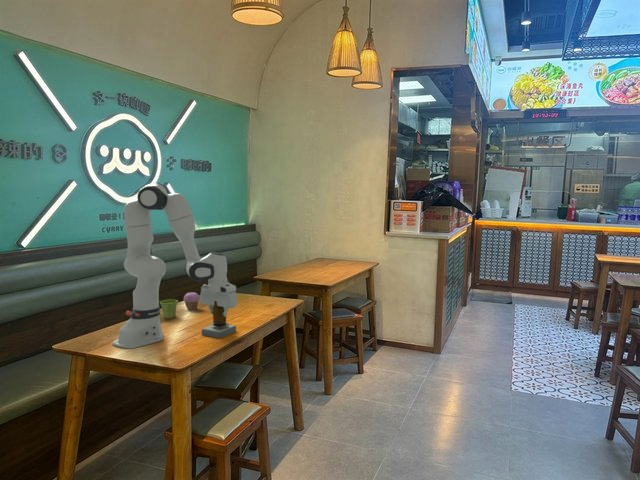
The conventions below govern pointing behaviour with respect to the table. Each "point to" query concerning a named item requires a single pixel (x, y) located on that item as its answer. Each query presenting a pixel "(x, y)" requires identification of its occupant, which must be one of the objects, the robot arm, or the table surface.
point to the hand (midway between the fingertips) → (218, 314)
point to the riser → (218, 331)
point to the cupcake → (191, 300)
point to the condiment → (218, 316)
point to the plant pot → (169, 308)
